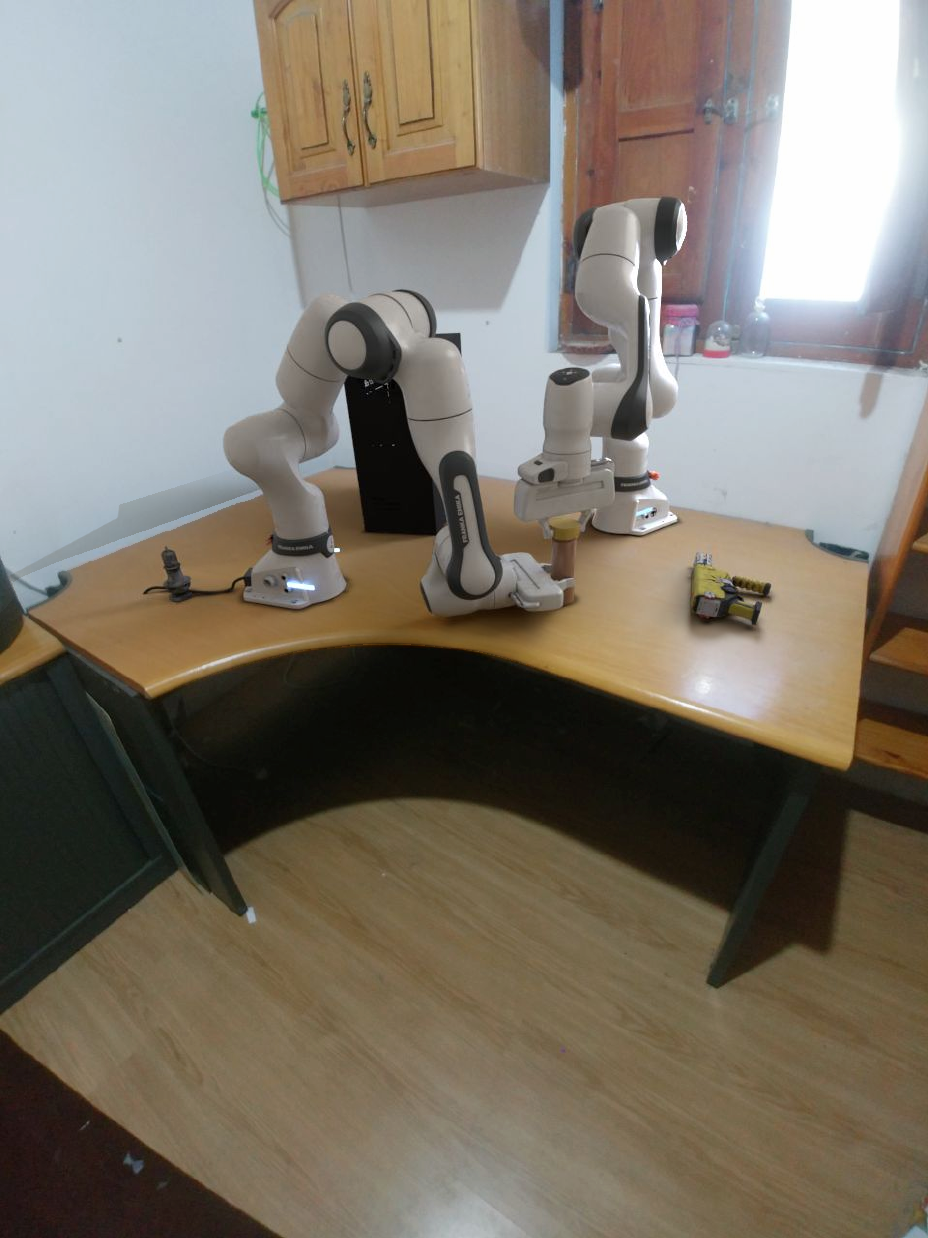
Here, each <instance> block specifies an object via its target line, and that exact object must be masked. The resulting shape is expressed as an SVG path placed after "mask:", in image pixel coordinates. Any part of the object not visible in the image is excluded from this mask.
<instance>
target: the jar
mask: <svg viewBox="0 0 928 1238" xmlns="http://www.w3.org/2000/svg"><path fill="white" fill-rule="evenodd" d="M577 539H578V537H577V538H574V539H571V540H558V539H554V538H551V541H550V542H551V544H550V545H551V546H550V547H551V548H550V549H551V550H550V564H551V574H550V577H551V578H552V579H553V581H556V580H558V582H559V581H561V580H563V578H564V577H568V576H571V577H572V578H573V579H574V580H575V581H576V563H577V562H576V561H577V542H578V541H577ZM574 601H575V583H574V586H573V587H569V588H566V589H565V590H563V606H566V605H570V604H572V603H574Z"/></svg>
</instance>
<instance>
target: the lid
mask: <svg viewBox="0 0 928 1238" xmlns="http://www.w3.org/2000/svg"><path fill="white" fill-rule="evenodd" d="M548 527H550V528H551V529H553V530H554V534H553V535H554V537H553V538H554V539H558V540H571V539H574V538H577V539H578V537H579V535H580V532H579V529H580V525H579V522H578V519H574V518H570V517H561V518H555V519H551V521H549V526H548Z"/></svg>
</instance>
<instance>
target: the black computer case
mask: <svg viewBox="0 0 928 1238" xmlns="http://www.w3.org/2000/svg"><path fill="white" fill-rule="evenodd" d="M434 338H441V339H445V340H448V341H450V342H451V343H453V344H454V345H455V346H456V347H457V348H458V350H459V352H460V354H461V357H462V356H463V355H462V354H463V353H462V336H461V332H447V333H446V332H442V333H441V332H440V333H436V334H435V337H434ZM462 358H463V357H462ZM386 378H387V377H386ZM386 378H385V379H386ZM343 386H344V387H343V388H344V394H345V395H344V396H345V400H346V408H347V409H346V410H347V415H348V421H349V430H350V436H351V437H350V438H351V444H352V450H353V458H354V463H355V464H354V465H355V470H356V471H355V472H356V477H357V485H358V492H359V498H360V499H359V500H360V506H361V514H362V520H363V528H364V532H367V533H368V532H370V533H393V534H394V533H395V534H416V535H417V534H419V535H437V533H438V532H439V531H440V530H441V529H442V528H443V527H444V526H445V523H447V519H446V514H445V508H444V504H443V501H442V498H441V495H440V493H439V490H438V488H437V486H436V484H435V482H434V481H433V479H432V477H431V475H430V474H429V472H428V471H427V469H426V467H425V466H424V464H423V463H422V461H421V459H420V457H419V455H418V453H417V451H416V448H415V445H414V443H413V440H412V436H411V433H410V429H409V425H408V420H407V413H406V407H405V401H404V396H403V392H402V390H401V387H400V386H399V384H398V383H397V382H396V381H395V380H394V379H392V380H391V381H389V382H388V383H386V384H381V383H378V382H375V381H372V380H368V379H361V378H356V377H352V376H349V375H348V376H347V378H346V380H345V382H344V384H343Z"/></svg>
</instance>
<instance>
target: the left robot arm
mask: <svg viewBox="0 0 928 1238" xmlns="http://www.w3.org/2000/svg"><path fill="white" fill-rule="evenodd" d="M437 328H438V321H437V316H436V312H435V310H434V307H433V305H432V304H431V303H430V301H429V300H428V299H427V298H426V297H425V296H424V295H422V294H421V293H419V292H417V291H414V290H410V289H402V288H401V289H394V290H391V291H384V292H378V293H373V294H371V295H368V296H366V297H364V298H361V299H359V300H357V301H353V302H350V301H348V300H346V298H345V297H342V296H341V295H337V294H333V293H321V294H319V295H316V296H315V297H313V298H312V299H311V300H310V302H309V303H308V304H307V306H306V307H305V308H304V310H303V312H302V314H301V315H300V317H299V319H298V320H297V322H296V323H295V326H294V328H293V330H292V332H291V334H290V336H289V339H288V342H287V344H286V347H285V349H284V352H283V355H282V358H281V360H280V362H279V365H278V368H277V371H276V374H275V377H274V379H275V386H276V389H277V391H278V394H279V396H280V397H281V399H282V400H283V402H282V403H281V404H280V405H279V406H278V407H276V408H274V409H270V410H267V411H263V412H258V413H256V414H252V415H247V416H245V417H244V418H242V419H240V420H238V421H236V422H234V423H233V424H232V425H230V426H228V427H227V428H226V430H225V431H224V434H223V438H222V449H223V453H224V456H225V459H226V460H227V462H228V463H229V465H230V466H231V467H232V468H233V470H235V471H236V472H237V473H238V474H240V475H242V476H244V477H246V478H248V479H250V480H251V481H252V482H253V483H255V484H256V485H257V487H258V488H259V489H260V491H261V492H262V493H263V495H264V497H265V499H266V502H267V505H268V509H269V511H270V515H271V519H272V523H273V526H274V531H273V532H272V533H270V534H269V537H268V538H266V540H265V542H266V546H268V545H270V544H271V548H270V549H269V550H268V551H267V552H266V553H265V554H264V555H263V556H262V557H261V558H260V559H259V560H258V561H257V562H256V563H255V564H254V565H253V567H248V569H247V570H246V572H245V573H244V574H243V576H240V577H237V578H235V579H234V580H233V581H232V582H231V586H230V587H228V588H227V589H224V590H217V591H216V590H215V591H214V590H196V589H195V590H194V589H189V590H187V591H189V592H192V593H194V595H196V594H197V595H219V594H225V593H231V592H232V591H234V590H235V586H236V584H237V583H238V582H240V581H243V584H244V587H245V589H244V591H243V593H242V595H243V596H242V597H243V601H245V602H250V603H256V604H262V605H267V606H268V605H269V606H274V607H279V608H280V607H281V608H286V609H293V610H301V609H304V608H306V607H309V606H311V605H313V604H318V603H321V602H325V601H328V600H331V599H333V598H336V597H337V596H339V595H340V594H341V593H343V592H344V590H346V588H347V582H346V579H345V578H344V576H343V574H342V571H341V569H340V566H339V564H338V561H337V557H336V553H339V552H340V548H335V540H334V536H333V530H332V527H331V525H330V524H329V519H328V513H327V509H326V501H325V497H324V494H323V492H322V490H321V489H320V488H319V486H316V485H315V484H313V483H311V482H308V481H305V480H304V478H303V476H302V474H301V471H300V466H299V464H302V463H305V462H309V461H311V460H313V459H317V458H320V457H321V456H323V455H324V454H326V453H327V452H328V451H329V450H331V449H332V448H334V447H335V446H336V445H337V444H338V441H339V438H340V424H339V421H338V418H337V416H336V414H335V413H334V412H333V410H334V407H335V404H336V401H337V400H338V398H339V395H340V393H341V391H342V389H343V386H344V382H345V380H346V378H347V376H348V375H349V376H352V377H356V378H361V379H368V380H371V381H375V382H378V383H381V384H385V385H386V383H388V382H389V381H391V380H392V379H394V380H395V381H396V382H397V383H398V384H399V386H400V387H401V390H402V392H403V396H404V401H405V407H406V413H407V420H408V425H409V429H410V433H411V436H412V440H413V443H414V445H415V448H416V451H417V453H418V455H419V457H420V459H421V461H422V463H423V464H424V466H425V467H426V469H427V471H428V472H429V474H430V475H431V477H432V479H433V481H434V482H435V484H436V486H437V488H438V490H439V493H440V495H441V498H442V501H443V504H444V508H445V514H446V519H447V520H446V523H447V524H446V525H443V526H442V527H441V529H440V530H439V532H438V533H437V534H435V536H434V538H433V539H434V540H433V548H432V553H431V558H430V561H429V565H428V567H427V570H426V572H425V574H424V575H423V577H421V579H420V581H419V589H420V593H421V597H422V599H423V602H424V605H425V606H426V609H427V611H428V612H429V613H430V614H431V615H432V616H435V617H440V618H442V617H443V618H444V617H445V618H447V617H456V616H463V615H470V614H472V613H475V612H476V611H482V610H485V611H492V610H498V609H503V608H510V607H514V606H516V607H517V608H521V609H524V610H525V611H527V612H546V611H555V610H559V609H561V608H562V607H563V606H564V605H563V590H565V589H566V588H569V587H573V586H574V583H575V581H576V579H575V580H574V579H573V578H572V577H571V576H568V577H564V578H563V580H561V581H559V582H558V580H556V581H553V579H552V578H551V563H546V562H545V563H544V562H541V563H538V561H537V560H536V559H534V557H533V556H532V555H531V554H530V553H529V552H521V551H520V552H512V553H504V554H501V555H499V554H496V552H495V551H494V550H493V548H492V546H491V543H490V540H489V536H488V530H487V526H486V520H485V514H484V507H483V502H482V497H481V496H482V495H481V490H480V484H479V477H478V476H479V475H478V474H479V473H478V461H477V448H476V429H475V417H474V408H473V400H472V394H471V388H470V384H469V379H468V375H467V371H466V368H465V364H464V361H463V357H461V354H462V353H461V354H460V352H459V350H458V348H457V347H456V346H455V345H454V344H453V343H451V342H450V341H448V340H445V339H441V338H434V337H435V334H437V330H438V329H437ZM386 377H387V378H386ZM385 378H386V379H385ZM574 587H575V586H574ZM154 590H166V591H168V590H167V589H166V588H165V587H164V586H163V585H159V586H158V585H154V586H153V585H152V586H150V587H148V588H146V589H145V590H144V591H143V593H142V595H147V594H148V593H149V592H150V591H154Z"/></svg>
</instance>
